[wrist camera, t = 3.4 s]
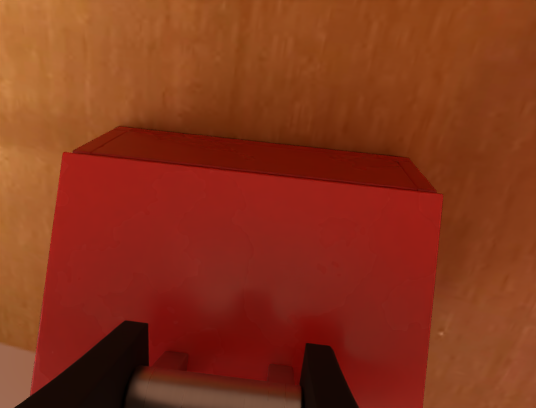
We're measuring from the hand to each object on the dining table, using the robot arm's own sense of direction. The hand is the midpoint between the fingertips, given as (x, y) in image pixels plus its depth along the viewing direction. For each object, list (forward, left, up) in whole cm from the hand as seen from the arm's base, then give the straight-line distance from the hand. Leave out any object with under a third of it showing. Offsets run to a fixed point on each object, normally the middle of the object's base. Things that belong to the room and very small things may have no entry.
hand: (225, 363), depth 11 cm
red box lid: (+1, 0, -2) cm, 2 cm away
